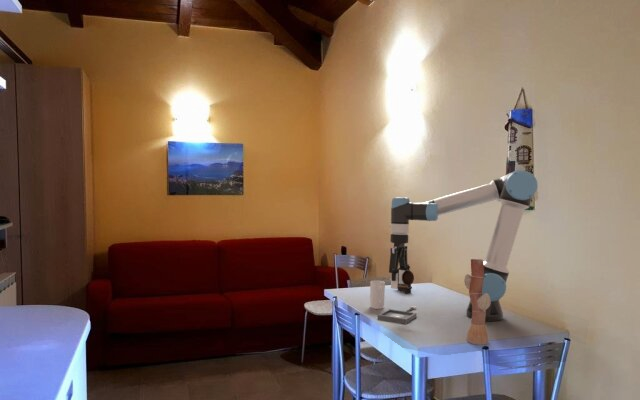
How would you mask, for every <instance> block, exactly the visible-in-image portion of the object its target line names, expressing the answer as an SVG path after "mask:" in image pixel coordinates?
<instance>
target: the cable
mask: <svg viewBox="0 0 640 400" xmlns="http://www.w3.org/2000/svg"><path fill="white" fill-rule="evenodd" d="M409 307H410V308H409V309H407V310H405V311H406V312H411V311H412V310H413V311H416V310H417V306H416V305H410V306H409Z"/></svg>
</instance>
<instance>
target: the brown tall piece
mask: <svg viewBox="0 0 640 400" xmlns="http://www.w3.org/2000/svg"><path fill="white" fill-rule="evenodd" d="M484 261H485V260H483V259H481V258H480V259H479V258H476V259H475V258H472V259H470V272H471V275H470V274H469V273H468V274H466V275H465V276H464V281H463V282H464V286H465V287H466V289H467V290H468V295H469V301H470V300H471V304H472V318H471V323H470V325H469V329H468V331H467V334H466V341H467V343H469V344H473V345H478V346H485V345H488V343H489V335H488V331H487V327H486V321H485V317H486V309H488V308H489V307H490V304H491V300H490V297H489V295H488V294H487V293H485V294H483V295H482V287H483V280H484V264H483V262H484Z"/></svg>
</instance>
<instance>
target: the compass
mask: <svg viewBox="0 0 640 400" xmlns="http://www.w3.org/2000/svg"><path fill="white" fill-rule="evenodd" d="M402 281H403V283H404V284H398V289H408V288H410V287H409V286H408V285H411V286H412V284H413V283H414V281H415V275H414V273H413V272H412V271H411V270H410V271H409V270H407V271H405V272H404V273H403V275H402ZM398 289H397V290H398Z"/></svg>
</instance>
